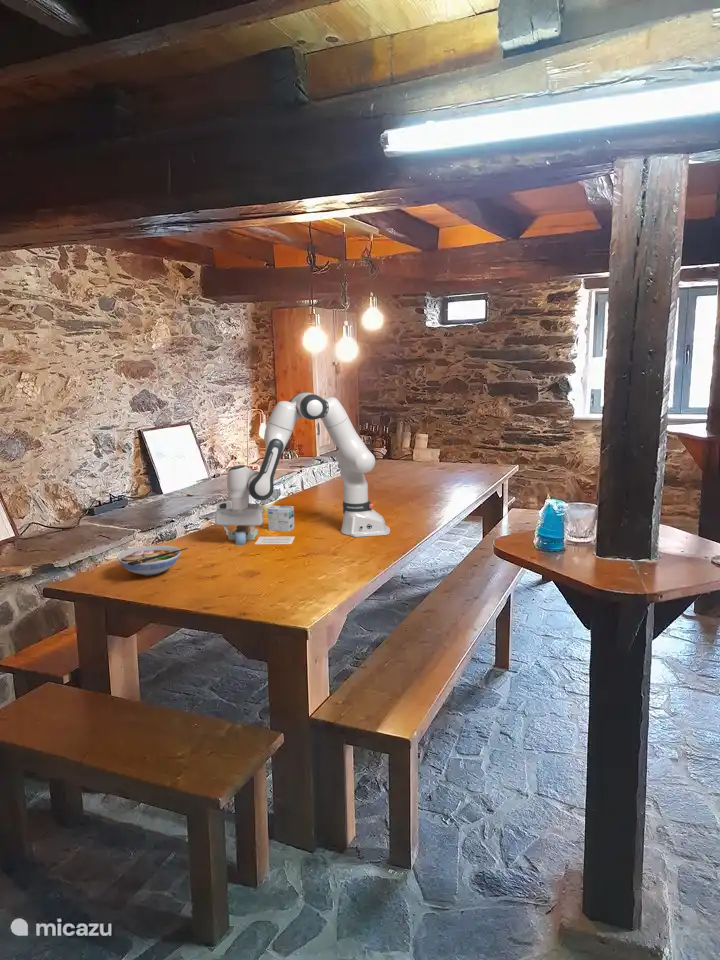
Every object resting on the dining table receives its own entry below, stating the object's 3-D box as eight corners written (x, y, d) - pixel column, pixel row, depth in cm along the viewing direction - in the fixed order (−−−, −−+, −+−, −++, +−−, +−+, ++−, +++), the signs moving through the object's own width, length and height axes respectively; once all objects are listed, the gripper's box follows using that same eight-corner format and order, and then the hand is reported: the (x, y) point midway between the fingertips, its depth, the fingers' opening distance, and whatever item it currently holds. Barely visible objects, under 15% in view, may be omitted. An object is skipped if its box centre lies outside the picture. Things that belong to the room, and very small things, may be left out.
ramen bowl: (161, 559, 264) (160, 539, 262) (197, 570, 249) (196, 549, 248) (103, 575, 245) (101, 554, 243) (138, 588, 230) (136, 565, 229)
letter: (295, 536, 294) (295, 536, 293) (291, 544, 282) (291, 543, 282) (259, 537, 294) (259, 536, 294) (254, 544, 282) (254, 544, 282)
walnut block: (250, 534, 296) (249, 523, 295) (248, 537, 291) (247, 526, 290) (239, 534, 296) (238, 523, 295) (236, 537, 291) (236, 526, 290)
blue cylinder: (247, 542, 286) (246, 531, 285) (245, 545, 281) (244, 534, 280) (236, 542, 286) (236, 531, 285) (234, 545, 281) (234, 534, 280)
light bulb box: (294, 528, 308) (294, 505, 306) (289, 532, 302) (288, 509, 300) (273, 527, 311) (272, 504, 309) (268, 530, 305) (267, 507, 303)
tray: (258, 534, 299) (257, 528, 299) (253, 540, 288) (253, 535, 288) (234, 534, 299) (233, 528, 299) (228, 540, 289) (228, 535, 288)
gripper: (264, 502, 283) (265, 533, 285) (216, 501, 283) (218, 533, 286) (261, 505, 277) (262, 537, 279) (213, 504, 277) (214, 536, 280)
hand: (239, 535), depth 282 cm, fingers open, 8 cm apart
